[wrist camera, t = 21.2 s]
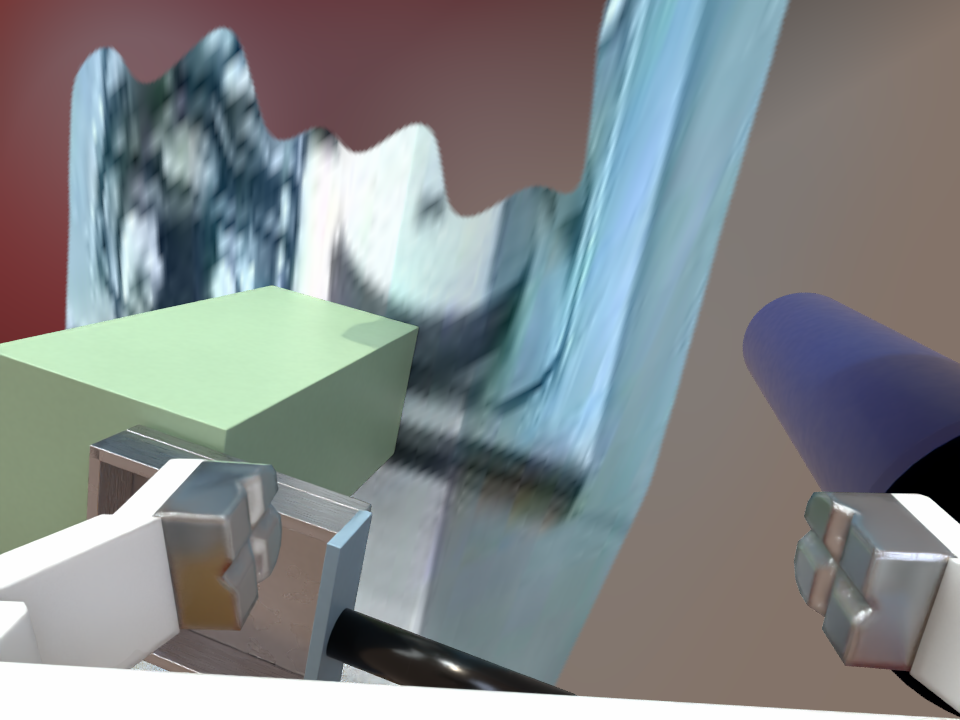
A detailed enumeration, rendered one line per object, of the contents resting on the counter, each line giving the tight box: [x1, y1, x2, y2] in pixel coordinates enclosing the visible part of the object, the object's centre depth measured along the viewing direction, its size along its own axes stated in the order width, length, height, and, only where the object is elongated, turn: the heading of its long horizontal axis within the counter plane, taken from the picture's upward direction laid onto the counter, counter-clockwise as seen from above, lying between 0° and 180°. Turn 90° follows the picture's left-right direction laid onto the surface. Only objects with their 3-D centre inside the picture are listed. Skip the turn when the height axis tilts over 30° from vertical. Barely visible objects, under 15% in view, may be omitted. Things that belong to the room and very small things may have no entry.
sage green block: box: [0, 286, 419, 555], centre depth 44 cm, size 14×12×26 cm
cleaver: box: [87, 424, 577, 696], centre depth 27 cm, size 23×10×4 cm, turn 77°
